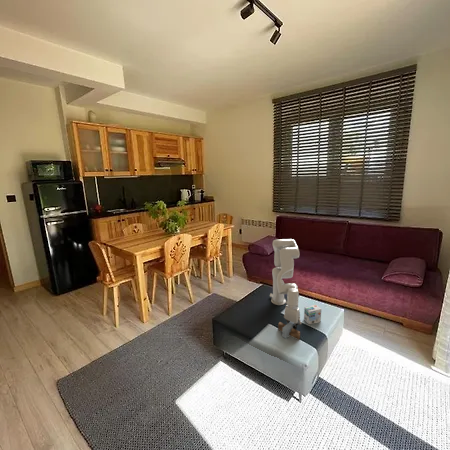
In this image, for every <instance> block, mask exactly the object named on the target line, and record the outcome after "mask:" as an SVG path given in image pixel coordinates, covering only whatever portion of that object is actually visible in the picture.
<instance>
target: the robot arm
mask: <svg viewBox="0 0 450 450" xmlns="http://www.w3.org/2000/svg"><path fill="white" fill-rule="evenodd" d="M272 247H273V251H274V257H273V258H274V259H273V260H274V262H273V263H274V266H275V267H274V268H272V270H271V272H272V273H271V274H272V292H270V294H269V297H270V298H271V300H270V302H271V303H272V304H273V305H277V306H282V305H285V304H286V305H285V308H284V315H282V317H283V319H285V321H286V323H287V324H288V323H289V322H290V321H291V322H293V323H294V326H293V329H295V330H298V328H297V327H298V326H299V325H302V321H301V314H300V313H301V312H300V308H299V293H300V291H299V288H298V285H297V284H296V283H295V282H294V283H293V282H292V283H289V282H288V283H285V282H284V280H283V279H291V278H293V276H294V268H295V267H294V266H295V260H294V259H299V258H300V249H299V246H298V245H297V242H296V240H295V239H294V238H293V239H292V238H282V239H277V238H276V239H274V240H272ZM285 295H286V297H287V298H285ZM287 324H286V325H287Z"/></svg>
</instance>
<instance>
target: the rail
mask: <svg viewBox="0 0 450 450" xmlns="http://www.w3.org/2000/svg"><path fill="white" fill-rule="evenodd" d="M285 325H286V324H285V323H283V322H281V321H279V322H278V325H277V326H278V328H277V329H278V330H279V331H281V332H282V331H283V327H284V326H285ZM290 335H291V336H290ZM289 336H290V337H292V338H295V339H297V340H298V341H299V340H300V339H301V331H299V330H298V329H296V330H295V329H291V331H290V332H289Z"/></svg>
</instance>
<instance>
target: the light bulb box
mask: <svg viewBox="0 0 450 450" xmlns="http://www.w3.org/2000/svg"><path fill="white" fill-rule="evenodd" d="M303 310H304V311H303V321H305V323H307V324H308V325H313V324H316V323H320V322H321V320H322V308H321V307H319V305H318V304H313V305H309V306H304V309H303Z"/></svg>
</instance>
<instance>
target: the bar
mask: <svg viewBox="0 0 450 450" xmlns="http://www.w3.org/2000/svg"><path fill="white" fill-rule="evenodd" d="M293 326H294V323H293V322H291V321H290V322H289V323H288V324H285V326H284V327H283V331H281V334H282V335H281V336H282V338H284V339H288V338H289V337H290V335H289V332H290V331H291V329H293ZM288 336H289V337H288ZM287 337H288V338H287Z"/></svg>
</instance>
